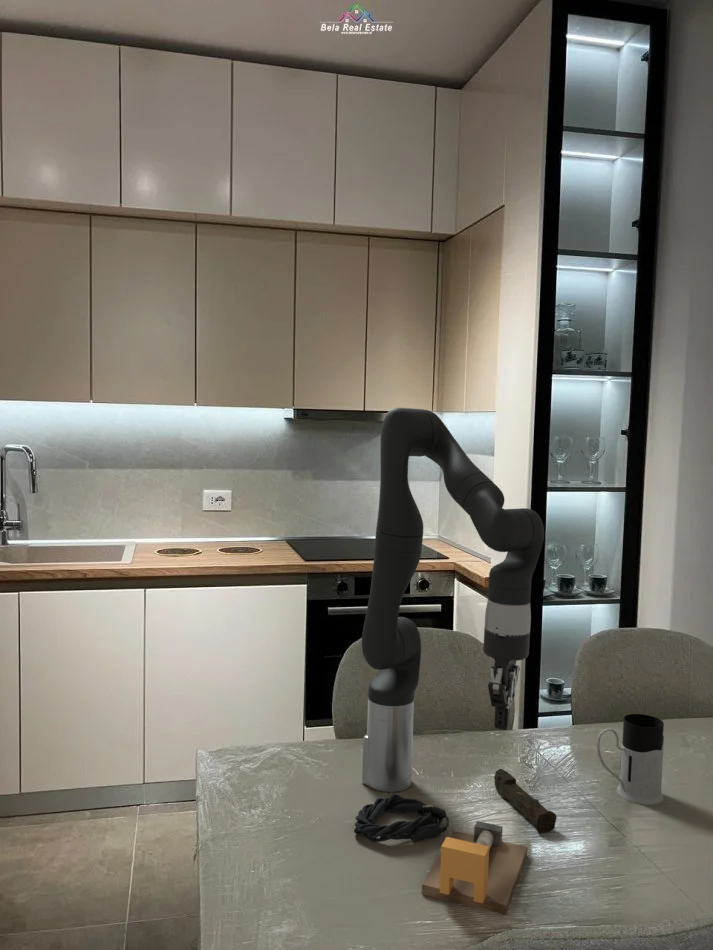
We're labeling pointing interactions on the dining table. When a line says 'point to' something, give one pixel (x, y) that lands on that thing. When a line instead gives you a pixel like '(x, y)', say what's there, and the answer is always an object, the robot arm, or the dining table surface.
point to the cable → (399, 830)
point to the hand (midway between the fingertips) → (501, 727)
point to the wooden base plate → (501, 871)
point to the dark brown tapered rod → (524, 802)
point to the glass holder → (639, 759)
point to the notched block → (464, 866)
